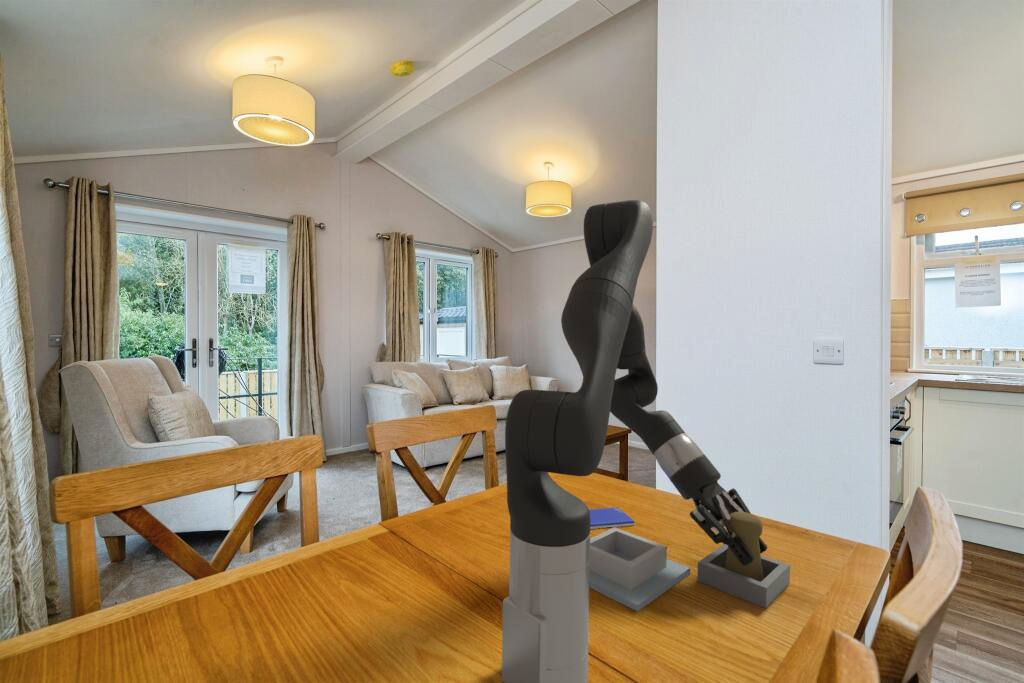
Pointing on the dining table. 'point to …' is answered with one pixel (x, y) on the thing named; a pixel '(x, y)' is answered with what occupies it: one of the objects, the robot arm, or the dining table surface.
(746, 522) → the cork
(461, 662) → the dining table surface
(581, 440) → the robot arm
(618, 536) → the dock
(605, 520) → the blue book
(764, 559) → the holster
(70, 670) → the dining table surface
